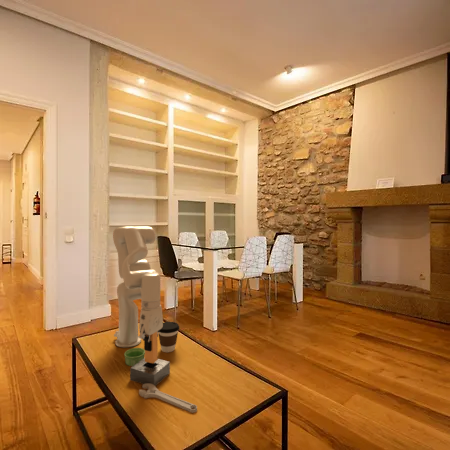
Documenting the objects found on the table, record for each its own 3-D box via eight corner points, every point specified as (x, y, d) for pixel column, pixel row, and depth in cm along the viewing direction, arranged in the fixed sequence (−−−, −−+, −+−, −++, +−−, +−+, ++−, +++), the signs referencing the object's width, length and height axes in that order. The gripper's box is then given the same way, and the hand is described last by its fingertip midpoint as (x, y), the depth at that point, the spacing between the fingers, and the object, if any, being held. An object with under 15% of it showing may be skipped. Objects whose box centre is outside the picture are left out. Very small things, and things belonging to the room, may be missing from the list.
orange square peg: (153, 363, 115) (152, 333, 114) (144, 361, 116) (144, 332, 116) (157, 360, 117) (157, 331, 117) (149, 358, 119) (149, 329, 119)
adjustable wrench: (198, 410, 99) (199, 405, 98) (186, 421, 93) (186, 416, 93) (148, 385, 112) (148, 381, 112) (134, 394, 106) (134, 389, 106)
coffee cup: (171, 342, 149) (171, 319, 149) (183, 349, 141) (184, 325, 141) (152, 349, 141) (152, 325, 141) (164, 357, 134) (165, 331, 133)
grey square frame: (130, 380, 115) (130, 367, 115) (147, 367, 125) (147, 356, 124) (154, 387, 110) (154, 374, 110) (169, 373, 120) (169, 361, 120)
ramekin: (135, 355, 136) (136, 345, 135) (149, 360, 131) (149, 351, 131) (119, 363, 128) (120, 353, 128) (133, 369, 123) (133, 359, 123)
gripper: (145, 311, 107) (145, 359, 108) (170, 299, 122) (169, 342, 123) (129, 308, 110) (129, 355, 111) (155, 297, 125) (155, 339, 126)
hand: (150, 348), depth 117 cm, fingers closed on orange square peg, 3 cm apart
